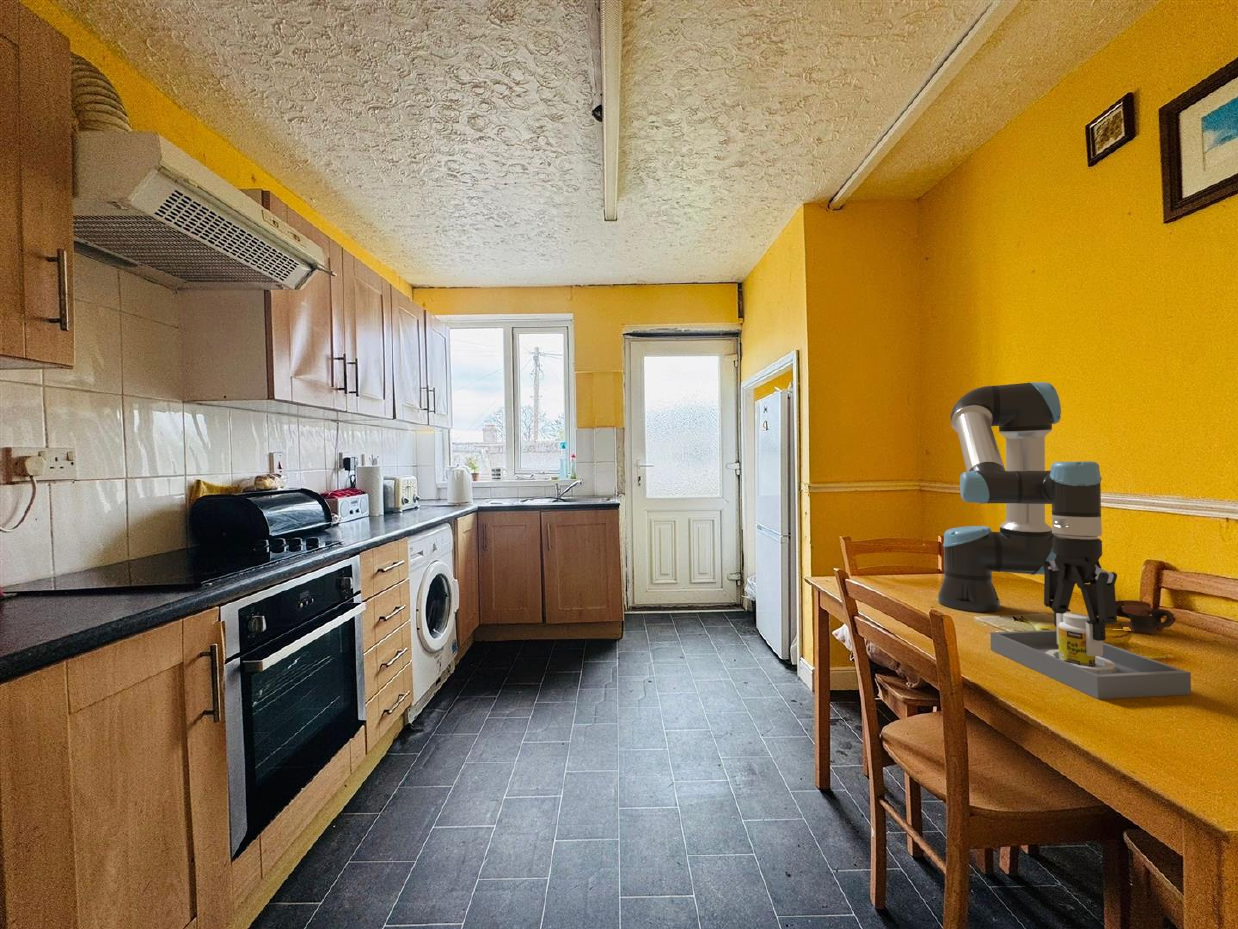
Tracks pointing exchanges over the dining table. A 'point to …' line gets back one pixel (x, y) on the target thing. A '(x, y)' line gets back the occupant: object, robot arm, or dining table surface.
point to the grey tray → (1106, 680)
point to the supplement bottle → (1074, 640)
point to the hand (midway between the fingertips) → (1079, 649)
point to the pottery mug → (1143, 616)
